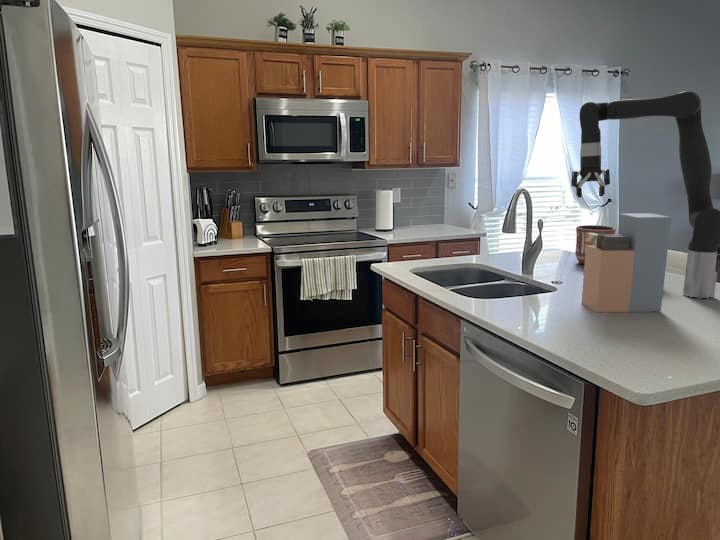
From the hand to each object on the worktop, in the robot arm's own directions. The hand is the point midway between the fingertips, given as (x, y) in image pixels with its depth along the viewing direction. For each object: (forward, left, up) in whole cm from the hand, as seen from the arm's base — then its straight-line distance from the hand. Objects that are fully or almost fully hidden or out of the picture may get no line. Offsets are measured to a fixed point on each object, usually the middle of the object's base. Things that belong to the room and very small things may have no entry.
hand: (590, 196), depth 217 cm
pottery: (-22, -42, -36) cm, 60 cm away
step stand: (+2, +34, -36) cm, 49 cm away
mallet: (+7, +28, -15) cm, 33 cm away
